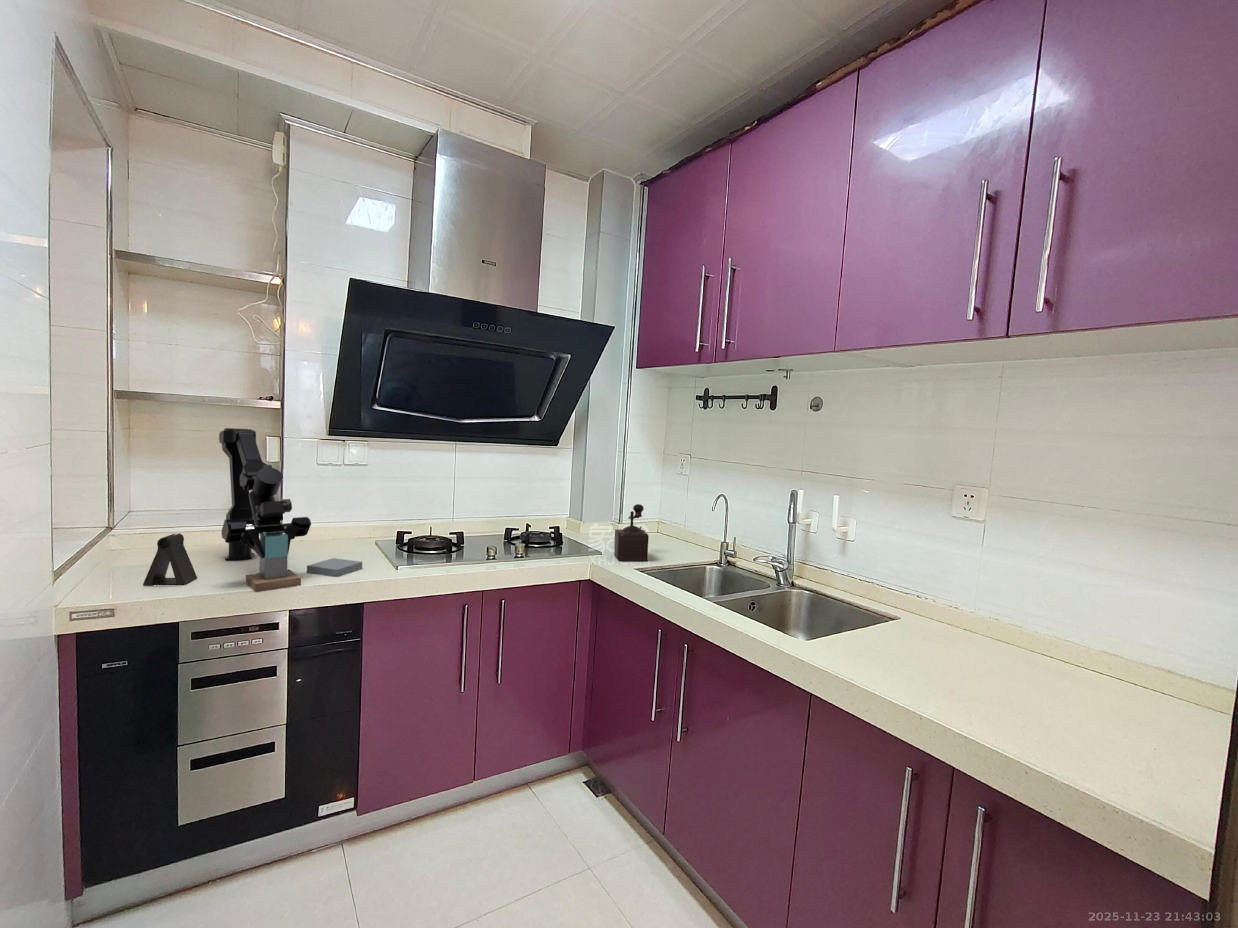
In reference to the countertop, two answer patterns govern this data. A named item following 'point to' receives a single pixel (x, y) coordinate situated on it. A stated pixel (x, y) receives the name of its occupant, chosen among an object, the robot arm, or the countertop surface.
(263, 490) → the robot arm
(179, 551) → the phone stand
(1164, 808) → the countertop surface
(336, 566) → the stand
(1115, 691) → the countertop surface
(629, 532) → the manual coffee grinder
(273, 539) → the block
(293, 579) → the stand
